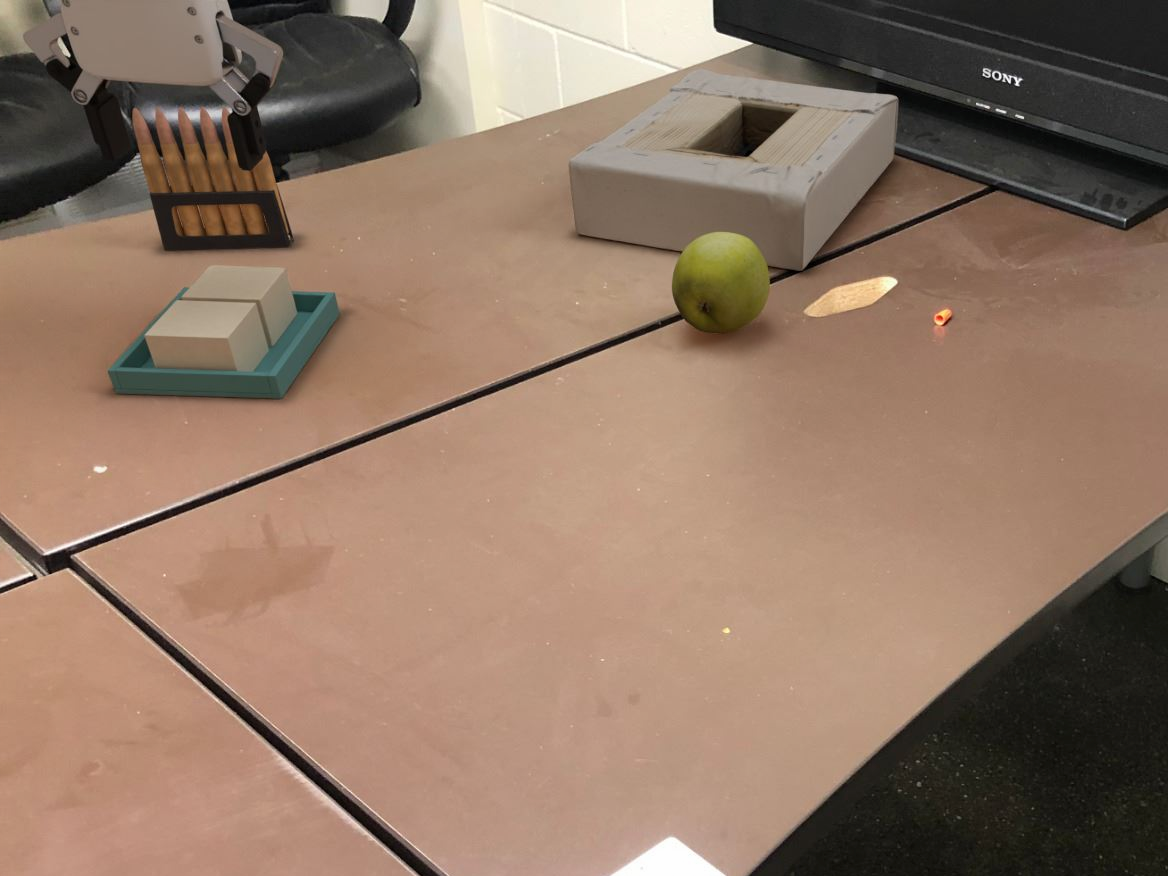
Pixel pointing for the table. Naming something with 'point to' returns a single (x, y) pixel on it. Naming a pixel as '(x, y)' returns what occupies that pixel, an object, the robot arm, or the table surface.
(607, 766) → the table surface
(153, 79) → the robot arm
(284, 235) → the ammunition clip
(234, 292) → the beige rectangular block
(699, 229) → the hollow concrete block
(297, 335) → the tray
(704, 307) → the apple
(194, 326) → the pad
